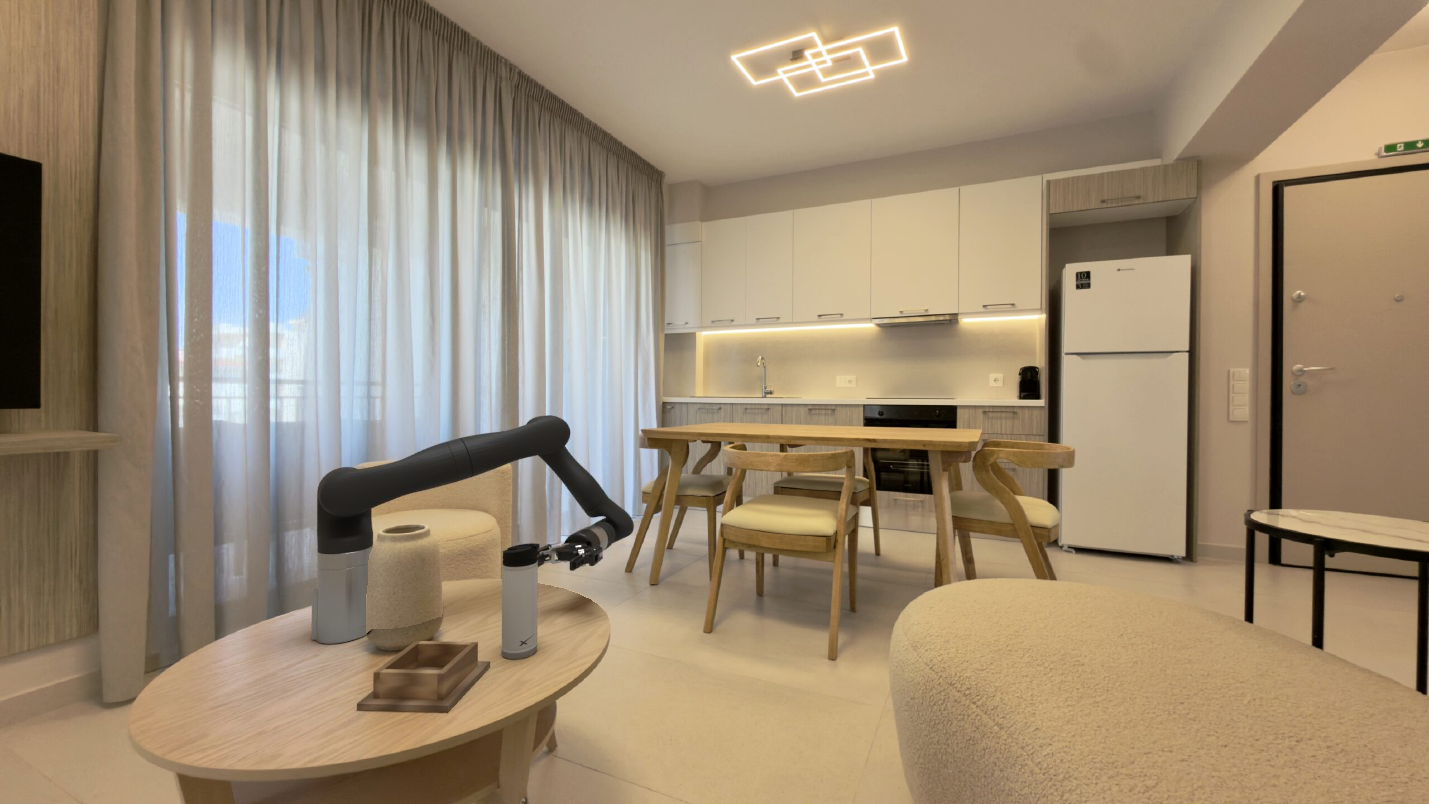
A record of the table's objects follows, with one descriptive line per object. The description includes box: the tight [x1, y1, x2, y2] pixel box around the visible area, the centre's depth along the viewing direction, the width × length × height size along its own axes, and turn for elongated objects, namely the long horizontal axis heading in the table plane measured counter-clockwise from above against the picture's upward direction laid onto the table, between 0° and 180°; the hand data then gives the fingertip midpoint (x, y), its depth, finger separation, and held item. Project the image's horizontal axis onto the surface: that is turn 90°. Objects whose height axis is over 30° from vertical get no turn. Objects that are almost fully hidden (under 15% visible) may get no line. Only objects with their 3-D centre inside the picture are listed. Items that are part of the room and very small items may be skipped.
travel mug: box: [501, 542, 541, 660], centre depth 100 cm, size 6×7×20 cm
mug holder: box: [356, 640, 491, 713], centre depth 88 cm, size 14×14×5 cm
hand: (552, 564), depth 111 cm, fingers open, 8 cm apart
